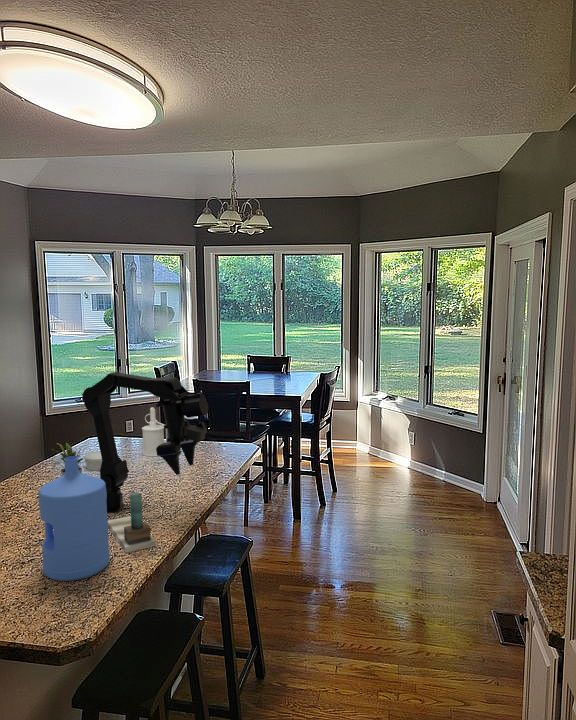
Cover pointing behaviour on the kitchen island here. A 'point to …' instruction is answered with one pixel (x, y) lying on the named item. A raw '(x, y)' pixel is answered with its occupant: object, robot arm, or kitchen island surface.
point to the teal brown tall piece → (136, 522)
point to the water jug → (74, 525)
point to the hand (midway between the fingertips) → (184, 469)
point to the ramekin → (93, 460)
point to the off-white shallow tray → (118, 532)
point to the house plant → (69, 453)
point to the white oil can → (152, 435)
